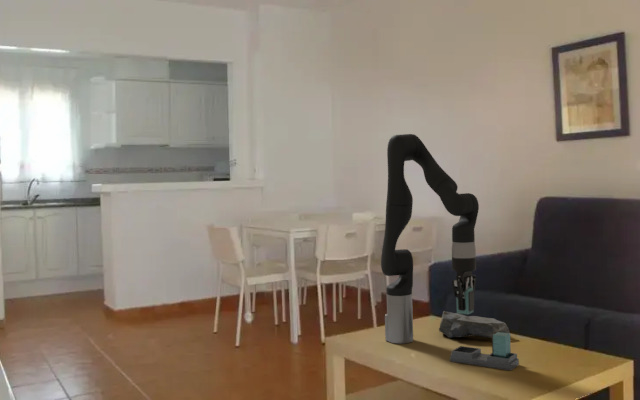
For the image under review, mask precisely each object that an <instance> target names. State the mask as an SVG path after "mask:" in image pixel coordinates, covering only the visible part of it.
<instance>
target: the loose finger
mask: <svg viewBox="0 0 640 400" xmlns="http://www.w3.org/2000/svg"><path fill="white" fill-rule="evenodd" d="M462 289H464V288H462ZM462 293H463V291H462ZM465 294H466V296H465V307H466V309H465V310H464V311H463V310H459V309H458V298H457V297H455V299H456V300H455V301H456V313H458V314H461V315H471V314H472V313H475V311H474V310H475V292H474V291H473V287H472V288H470V287H468V289H467V291H466V292H465Z"/></svg>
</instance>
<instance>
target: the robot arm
mask: <svg viewBox="0 0 640 400" xmlns="http://www.w3.org/2000/svg"><path fill="white" fill-rule="evenodd" d="M386 150H387V152H386V153H387V154H386V155H387V191H386V192H387V193H386V203H385V204H386V206H385V222H384V223H385V226H384V236H383V242H382V249H381V256H380V268H381V271H382V273H383V275H385V276H386V277H393V276H394V277H395V276H398V278H397V279H396V280H395V281H394V282H392V283H390V284H388V285H386V288H385V290H386V314H385V315H384V327H385V328H384V329H385V330H384V331H385V332H384V333H385V334H384V335H385V339H384V340H385V341H387V342H389V343H392V344H408V343H412V342H414V324H413V323H414V319H413V318H414V317H413V315H414V314H413V313H414V312H413V286H414V285H413V284H414V282H413V281H414V258H413V254H412V252H411V251H410V250H408V249H396V247H397V243H398V240H399V238H400V236H401V234H402V233H403V231H404V230H405V229H406V227H407V226H408V224H409V222H410V221H411V218H412V213H413V203H414V202H413V201H414V199H413V195H412V192H411V189H410V187H409V185H408V183H407V181H406V177H405V162H408V161H409V162H410V161H412V162H415V163H416V164H418V165H419V167H421V168H422V171H423V176H424V179H425V182H426V183H427V184H426V185H428V186H429V188H430V189H431V190H432V191H433V192H434V193H435V194H436V195H437V196H438V197H439V199H440V201H441V204H442V205H443V207H444V208H445V210H446V211H447V212H448V213H449V214H450V215H453V216H454V217H459V219H458V222H455V224H453V226H452V228H451V241H452V242H451V270H452V271H454V272H456V275H455V279H452V280H451V285H452V290H453V291H452V292H453V296H454V298H456V297H457V298H458V309H459V310H463V311H464V310H465V309H466V307H465V296H466V294H465V292H466V291H467V289H468V287H470V288H472V287H473V291H474V293H475V292H476V283H477V282H476V281H477V275H476V274H473V272H475V271H476V270H477V257H476V255H477V253H476V248H477V247H476V243H475V241H476V240H475V236H476V235H475V227H476V224H477V219H478V214H479V209H480V208H479V207H480V205H479V200H478V198H477V197H476V195H474V194H472V193H467V192H466V193H459V192H457V191H458V183H456V181H455V180H454V179H453V178H452V177H451V176H450V175H449V174H448V173H447V172H446V171H445V170H444V169H443V168H442V167H441V166H440V165H439V163H438V162H437V161H436V159H435V158H434V156H433V155H432V154H431V153H430V151H429V150H428V148H427V147H426V145H425V144H424V142H423V141H422V140H421V139H420V137H418V136H417V135H416V134H413V133H404V134H396V135H395V134H394V135H392V136H391V137H390V138H389V140H388V143H387V149H386ZM462 288H464V289H462ZM462 291H463V293H462Z"/></svg>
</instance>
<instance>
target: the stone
mask: <svg viewBox="0 0 640 400" xmlns="http://www.w3.org/2000/svg"><path fill="white" fill-rule="evenodd" d="M509 329H510V328H509V327H508V324H506V323H505V322H504V321H501V320H499V319H498V320H497V319H496V318H492V317H483V316H477V315H471V316H470V315H469V316H467V315H466V314H459V313H457V312H455V313H454V312H451V311H446V310H443V312H442V315H441V320H440V322H439V328H438V331H439V332H440V333H441V334H444V335H445V336H446V337H448V338H449V339H450V338H463V337H474V336H476V337H477V336H478V337H481V338H489V339H492V337H493V335H494V334H495V333H497V332H501V333H510V330H509Z"/></svg>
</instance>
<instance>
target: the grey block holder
mask: <svg viewBox="0 0 640 400" xmlns="http://www.w3.org/2000/svg"><path fill="white" fill-rule="evenodd" d="M491 346H492V347H491V348H492V349H491V351H492V352H491V353H489V354H488V353H482V349H481V348H479V347H478V348H477V347H470V346H463V345H460V346H458V347H456V348H454V349H452V350H451V354H450V355H449V361H450V363H458V364H465V365H471V366H478V367H484V368H491V369H497V370H504V371H512V370H514V369H515V368H517V367H518V366H520V364H519V363H520V360H519V358H518V353H516V352H515V353H514V352H511V351H512V350H511V333H510V332H509V333H501V332H497V333H495V334H494V335H493V337H492V338H491Z"/></svg>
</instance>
